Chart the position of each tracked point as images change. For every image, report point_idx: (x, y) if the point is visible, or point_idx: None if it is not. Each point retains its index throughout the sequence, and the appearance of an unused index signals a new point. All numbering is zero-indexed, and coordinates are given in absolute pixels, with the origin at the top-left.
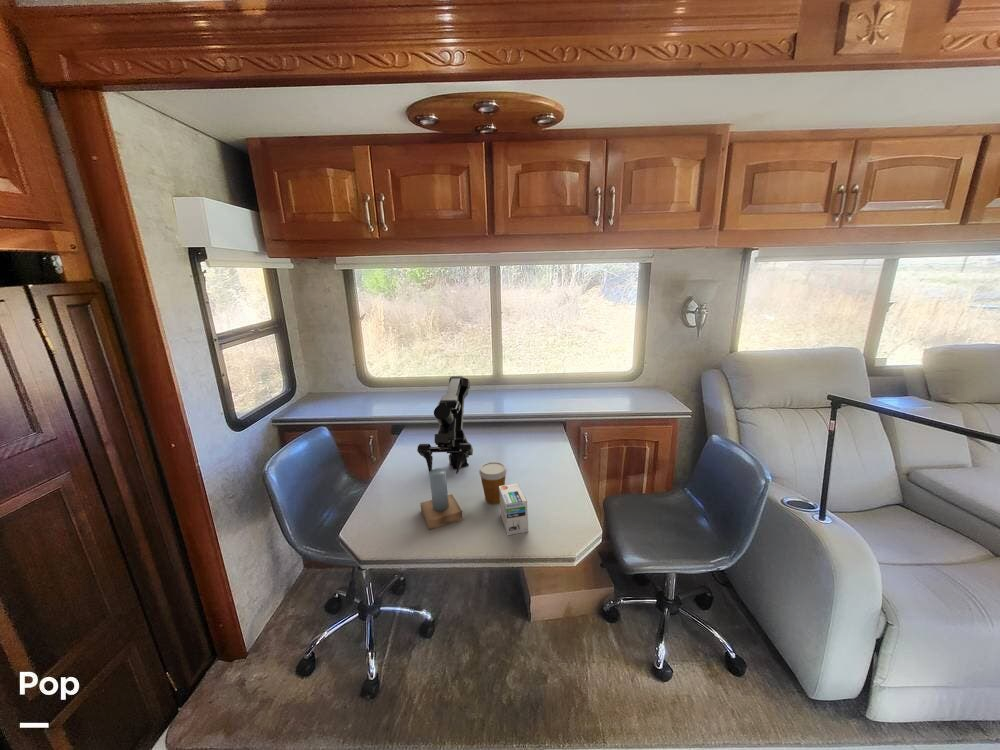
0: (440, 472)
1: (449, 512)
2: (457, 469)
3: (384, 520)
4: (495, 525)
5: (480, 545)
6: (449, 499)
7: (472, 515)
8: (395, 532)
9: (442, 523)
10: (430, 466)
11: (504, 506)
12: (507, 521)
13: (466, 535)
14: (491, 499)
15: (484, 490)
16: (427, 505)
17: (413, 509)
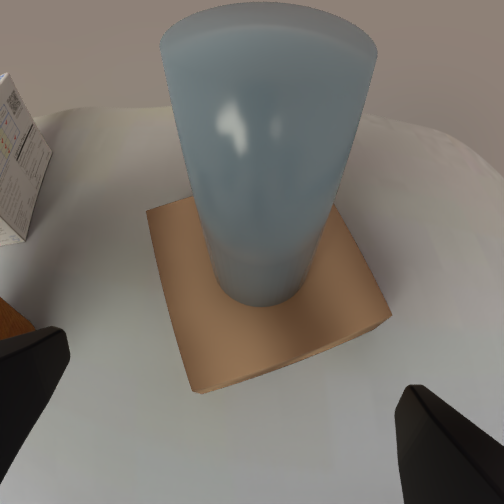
0: (230, 26)
1: None
2: (23, 336)
3: (491, 274)
4: (60, 191)
5: (131, 121)
6: (209, 329)
7: (114, 255)
8: (427, 201)
9: None
10: (449, 438)
11: (9, 102)
12: (32, 118)
13: (161, 154)
14: (13, 308)
15: (4, 320)
16: (345, 284)
17: (414, 344)
